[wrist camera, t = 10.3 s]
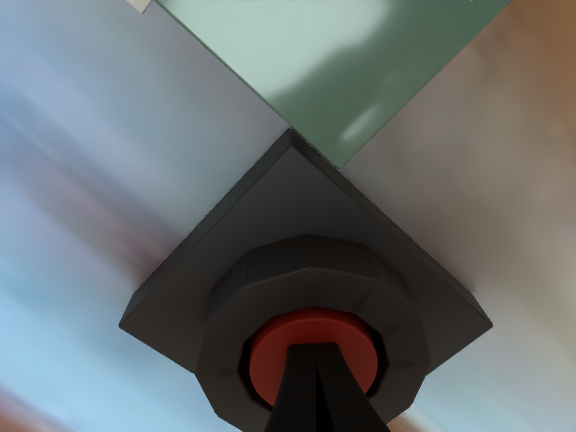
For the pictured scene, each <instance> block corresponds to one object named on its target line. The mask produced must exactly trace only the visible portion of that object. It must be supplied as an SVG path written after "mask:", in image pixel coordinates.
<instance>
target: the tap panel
mask: <svg viewBox="0 0 576 432" xmlns="http://www.w3.org/2000/svg"><path fill="white" fill-rule="evenodd" d="M126 1H127V2H128V3H129V4H130V5H131V6H132V7H133V8H134V9H136V10H137V11H138V12H139V13H140V14H143V13H144V12H145V11H146V9H147V8H148V7H149V5H150V4H151V3H152V1H153V0H126ZM154 1H155V2H156V3H158V4H159V5H160V6H161V7H162V8H163V9H164V10H165V11H166V12H167V13H168V14H170V15H171V16H172V17H173V18H174V19H175V20H176V21H177V22H178V23H179V24H180V25H182V26H183V27H184V28H185V29H186V30H187V31H188V32H189V33H190V34H191V35H192V36H194V37H195V38H196V39H197V40H198V41H199V42H200V43H201V44H202V45H203V46H204V47H206V48H207V49H208V50H209V51H210V52H211V53H212V54H213V55H214V56H215V57H216V58H217V59H219V60H220V61H221V62H222V63H223V64H224V65H225V66H226V67H227V68H228V69H229V70H231V71H232V72H233V73H234V74H235V75H236V76H237V77H238V78H239V79H240V80H241V81H243V82H244V83H245V84H246V85H247V86H248V87H249V88H250V89H251V90H252V91H253V92H255V93H256V94H257V95H258V96H259V97H260V98H261V99H262V100H263V101H264V102H265V103H267V104H268V105H269V106H270V107H271V108H272V109H273V110H274V111H275V112H276V113H277V114H278V115H280V116H281V117H282V118H283V119H284V120H285V121H286V122H287V123H288V124H289V125H290V126H292V127H293V128H294V129H295V130H296V131H297V132H298V133H299V134H300V135H301V136H302V137H304V138H305V139H306V140H307V141H308V142H309V143H310V144H311V145H312V146H313V147H314V148H316V149H317V150H318V151H319V152H320V153H321V154H322V155H323V156H324V157H325V158H326V159H327V160H329V161H330V162H331V163H332V164H333V165H334V166H335V167H336V168H338V169H340V168H341V167H342V166H343V165H344V164H345V163H346V162H348V161H349V160H350V159H351V158H352V157H353V156H354V155H355V154H356V153H357V152H358V151H359V150H360V149H361V148H362V147H363V146H364V145H365V144H366V143H367V142H368V141H369V140H370V139H371V138H372V137H373V136H374V135H375V134H376V133H377V132H378V131H379V130H380V129H381V128H382V127H383V126H384V125H385V124H386V123H387V122H388V121H389V120H390V119H391V118H392V117H393V116H394V115H395V114H396V113H397V112H399V111H400V110H401V109H402V108H403V107H404V106H405V105H406V104H407V103H408V102H409V101H410V100H411V99H412V98H413V97H414V96H415V95H416V94H417V93H418V92H419V91H420V90H421V89H422V88H423V87H424V86H425V85H426V84H427V83H428V82H429V81H430V80H431V79H432V78H433V77H434V76H435V75H436V74H437V73H438V72H439V71H440V70H441V69H442V68H443V67H444V66H445V65H446V64H447V63H448V62H450V61H451V60H452V59H453V58H454V57H455V56H456V55H457V54H458V53H459V52H460V51H461V50H462V49H463V48H464V47H465V46H466V45H467V44H468V43H469V42H470V41H471V40H472V39H473V38H474V37H475V36H476V35H477V34H478V33H479V32H480V31H481V30H482V29H483V28H484V27H485V26H486V25H487V24H488V23H489V22H490V21H491V20H492V19H493V18H494V17H495V16H496V15H497V14H498V13H499V12H501V11H502V10H503V9H504V8H505V7H506V6H507V5H508V4H509V3H510V2H511V1H512V0H154Z"/></svg>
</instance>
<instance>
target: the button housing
mask: <svg viewBox="0 0 576 432" xmlns="http://www.w3.org/2000/svg"><path fill="white" fill-rule="evenodd" d="M311 306H317V307H322V308H328V309H334V310H340V311H346V312H352V313H354V314H356V315H357V316H358V317H359V318H361V319H362V320H363V321H364V322H366V323H367V324H368V327H369V330H370V334H371V337H372V340H373V344H374V347H375V350H376V354H377V359H378V366H377V373H376V376H375V379H374V381H373V383H372V385H371V386H370V388H369V389H368V391H367V392H366V393H365V395H366V397H367V398H368V400H369V401H370V403H371V404H372V406H373V407H374V409H375V410H376V412H377V413H378V415H379V416H380V417H381V419H382V420H383V422H384V423H385V424H387V423H388V422H390V421H391V420H392V419H394V418H395V417H397V416H398V415H399V414H401V413H402V412H404V411H405V410H406V409H408V408H409V407H410V405H412V403H413V401H414V399H415V397H416V395H417V393H418V391H419V389H420V387H421V384H422V382H423V380H424V378H425V376H426V375H428V374H429V373H430V372H432V371H433V370H435V369H436V368H437V367H439V366H440V365H441V364H443V363H444V362H445V361H447V360H448V359H450V358H451V357H452V356H454V355H455V354H456V353H458V352H459V351H460V350H462V349H463V348H465V347H466V346H467V345H469V344H470V343H471V342H473V341H474V340H475V339H477V338H478V337H480V336H481V335H482V334H484V333H485V332H486V331H488V330H489V329H491V328H492V327H493V324H492V322H491V321H490V319H489V318H488V316H487V315H486V313H485V312H484V310H483V309H482V308H481V306H480V305H479V303H478V302H477V300H476V299H475V297H474V296H473V295H472V294H471V293H470V292H469V291H468V290H467V289H465V288H464V287H463V286H462V285H461V284H460V283H459V282H458V281H457V280H456V279H454V278H453V277H452V276H451V275H450V274H449V273H448V272H447V271H446V270H445V269H444V268H442V267H441V266H440V265H439V264H438V263H437V262H436V261H435V260H434V259H433V258H432V257H430V256H429V255H428V254H427V253H426V252H425V251H424V250H423V249H422V248H421V247H420V246H418V245H417V244H416V243H415V242H414V241H413V240H412V239H411V238H410V237H409V236H408V235H406V234H405V233H404V232H403V231H402V230H401V229H400V228H399V227H398V226H397V225H396V224H394V223H393V222H392V221H391V220H390V219H389V218H388V217H387V216H386V215H385V214H383V213H382V212H381V211H380V210H379V209H378V208H377V207H376V206H375V205H374V204H373V203H371V202H370V201H369V200H368V199H367V198H366V197H365V196H364V195H363V194H362V193H361V192H359V191H358V190H357V189H356V188H355V187H354V186H353V185H352V184H351V183H350V182H349V181H347V180H346V179H345V178H344V177H343V176H342V175H341V174H340V173H339V172H338V171H337V170H335V169H334V168H333V167H332V166H331V165H330V164H329V163H328V162H327V161H326V160H325V159H323V158H322V157H321V156H320V155H319V154H318V153H317V152H316V151H315V150H314V149H312V148H311V147H310V146H309V145H308V144H307V143H306V142H305V141H304V140H303V139H302V138H300V137H299V136H298V135H297V134H296V133H295V132H294V131H293V130H291V129H289V130H287V131H286V132H285V133H284V134H283V135H282V136H281V137H280V138H279V140H278V141H277V142H276V143H275V144H274V145H273V146H272V147H271V148H270V149H269V150H268V151H267V152H266V153H265V154H264V156H263V157H262V158H261V159H260V160H259V161H258V162H257V163H256V164H255V165H254V166H253V167H252V168H251V169H250V170H249V172H248V173H247V174H246V175H245V176H244V177H243V178H242V179H241V180H240V181H239V182H238V183H237V184H236V185H235V186H234V188H233V189H232V190H231V191H230V192H229V193H228V194H227V195H226V196H225V197H224V198H223V199H222V200H221V201H220V203H219V204H218V205H217V206H216V207H215V208H214V209H213V210H212V211H211V212H210V213H209V214H208V215H207V216H206V217H205V219H204V220H203V221H202V222H201V223H200V224H199V225H198V226H197V227H196V228H195V229H194V230H193V231H192V232H191V233H190V235H189V236H188V237H187V238H186V239H185V240H184V241H183V242H182V243H181V244H180V245H179V246H178V247H177V248H176V250H175V251H174V252H173V253H172V254H171V255H170V256H169V257H168V258H167V259H166V260H165V261H164V262H163V263H162V264H161V266H160V267H159V268H158V269H157V270H156V271H155V272H154V273H153V274H152V275H151V276H150V277H149V278H148V279H147V280H146V282H145V283H144V284H143V285H142V286H141V287H140V288H139V289H138V290H137V291H136V292H135V293H134V294H133V296H132V298H131V300H130V302H129V304H128V306H127V308H126V310H125V312H124V314H123V316H122V318H121V321H120V323H119V328H121V329H122V330H124V331H126V332H127V333H129V334H130V335H132V336H134V337H135V338H137V339H138V340H140V341H142V342H143V343H145V344H146V345H148V346H150V347H151V348H153V349H155V350H156V351H158V352H159V353H161V354H163V355H164V356H166V357H167V358H169V359H171V360H172V361H174V362H175V363H177V364H179V365H180V366H182V367H183V368H185V369H187V370H188V371H190V372H192V373H193V374H195V376H196V378H197V380H198V382H199V383H200V385H201V387H202V389H203V391H204V393H205V395H206V397H207V398H208V400H209V402H210V404H211V406H212V408H213V410H214V412H215V413H216V414H217V415H218V417H219V418H221V419H223V420H224V421H226V422H228V423H229V424H231V425H233V426H235V427H236V428H238V429H240V430H241V431H243V432H264V430H265V427H266V424H267V422H268V419H269V417H270V414H271V412H272V409H273V406H272V405H271V404H269V403H268V402H266V401H265V400H264V399H263V398H262V397H261V396H260V395H259V393H258V392H257V391H256V389H255V387H254V385H253V383H252V381H251V377H250V371H249V365H250V349H251V335H253V334H254V333H255V332H256V331H257V330H258V329H259V328H260V327H261V326H263V325H264V324H265V323H266V322H267V321H268V320H269V319H270V318H271V317H274V316H278V315H281V314H285V313H289V312H292V311H296V310H300V309H304V308H307V307H311Z"/></svg>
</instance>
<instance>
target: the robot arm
mask: <svg viewBox="0 0 576 432" xmlns="http://www.w3.org/2000/svg"><path fill="white" fill-rule="evenodd" d="M264 432H391V431H390V430H389V428H388V427H387V426H386V424H385V423H384V422H383V420H382V419H381V417H380V416H379V415H378V413H377V412H376V410H375V409H374V407H373V406H372V404H371V403H370V401H369V400H368V398H367V397H366V395H365V394H364V392H363V390H362V389H361V387H360V386H359V384H358V382H357V381H356V379H355V377H354V375H353V374H352V372H351V370H350V368H349V366H348V364H347V362H346V361H345V358H344V356H343V354H342V352H341V350H340V347H339V345H338V344H337V343H335V342H324V343H304V344H290V345H289V346H288V347H287V356H286V363H285V368H284V373H283V377H282V381H281V384H280V387H279V391H278V394H277V397H276V400H275V403H274V406H273V409H272V412H271V414H270V417H269V419H268V422H267V424H266V427H265V430H264Z"/></svg>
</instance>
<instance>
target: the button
mask: <svg viewBox="0 0 576 432" xmlns="http://www.w3.org/2000/svg"><path fill="white" fill-rule="evenodd" d="M324 342H335V343H337V344H338V345H339V347H340V350H341V352H342V354H343V356H344V358H345V361H346V362H347V364H348V366H349V368H350V370H351V372H352V374H353V375H354V377H355V379H356V381H357V382H358V384H359V386H360V387H361V389H362V390H363V392H364V394H365V393H366V392H367V391H368V389H369V388H370V386H371V385H372V383H373V381H374V379H375V376H376V373H377V366H378V359H377V354H376V350H375V347H374V344H373V340H372V337H371V334H370V330H369V327H368V324H367V323H366V322H364V321H363V320H362V319H361V318H359V317H358V316H357V315H356V314H354V313H352V312H346V311H340V310H334V309H328V308H322V307H317V306H311V307H307V308H304V309H300V310H296V311H292V312H289V313H285V314H281V315H278V316H274V317H271V318H270V319H269V320H268V321H267V322H266V323H265V324H264V325H263V326H261V327H260V328H259V329H258V330H257V331H256V332H255V333H254V334H253V335H251V349H250V365H249V371H250V377H251V381H252V383H253V385H254V387H255V389H256V391H257V392H258V393H259V395H260V396H261V397H262V398H263V399H264V400H265V401H266V402H268V403H269V404H271V405H272V406H274V403H275V400H276V397H277V394H278V391H279V387H280V384H281V381H282V377H283V373H284V368H285V363H286V356H287V347H288V346H289V345H290V344H304V343H324Z"/></svg>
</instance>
